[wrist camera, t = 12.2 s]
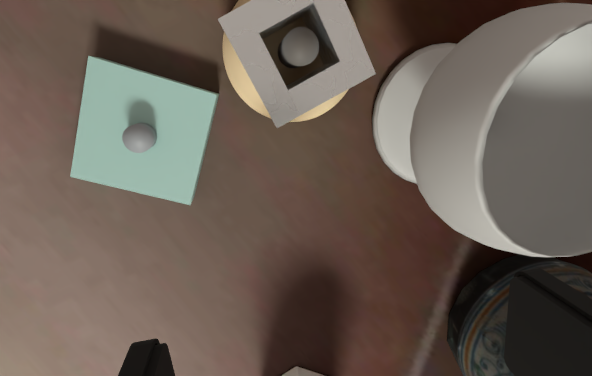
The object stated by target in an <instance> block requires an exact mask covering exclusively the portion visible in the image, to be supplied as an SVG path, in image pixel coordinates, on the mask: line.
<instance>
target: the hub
mask: <svg viewBox="0 0 592 376" xmlns="http://www.w3.org/2000/svg"><path fill="white" fill-rule="evenodd" d="M249 1H251V0H238V2H237V3H236V5H235V6H234V8H233V9H232V11H233V10H235V9H236V8H238V7H240V6H242V5H244V4H245V3H247V2H249ZM349 11H350V10H349ZM350 14H351V12H350ZM351 16H352V14H351ZM352 19H353V21H354V18H353V16H352ZM354 23H355V21H354ZM355 26H356V24H355ZM356 28H357V27H356ZM262 40H263V42H264V44H265V46H266V48H267V50H268V52H269V54H270V56H271V58H272V60H273V62H274V64H275V66H276V68H277V70H278V72H279V73H280V75H281V77H282V79H283V81H284V83H285V85H286V86H287V85H288V84H290V83H292V82H294V81H296V80H298V79H299V78H301V77H303V76H305V75H307V74H308V73H310V72H312V71H314V70H316V69H317V68H319V67H321V66H323V65H324V64H323V62H322V60H321V58H320V56H319V53H318V51H319V42H318V39H317V37H316V35H315V34H314V32H313V31H311V30H310V29H308V28H306V26H305V23H304V21H303V19H302V17H301V18H299V19H298V20H296V21H294V22H292V23H291V24H289V25H287V26H285V27H283V28H282V29H280V30H278V31H276V32H274V33H273V34H271V35H269V36H267V37H266V38H264V39H262ZM223 59H224V64H225V68H226V71H227V74H228V77H229V79H230V81H231V83H232V86H233V87H234V89H235V90H236V92H237V93H238V95H239V96H240V97H241V98H242V99H243V101H245V102H246V103H247V104H248V105H249V106H250V107H251V108H253V109H254V110H255V111H257V112H258V113H260V114H262V115H264V116H266V117H269V118H271V117H270V115H269V113H268V111H267V109H266V107H265V106H264V104H263V102H262V100H261V98H260V96H259V95H258V93H257V91H256V89H255V87H254V85H253V84H252V82H251V80H250V78H249V76H248V74H247V72H246V71H245V69H244V67H243V65H242V63H241V61H240V60H239V58H238V56H237V54H236V52H235V50H234V49H233V47H232V45H231V43H230V41H229V39H228V37H227V36H226V34H225V32H224V36H223ZM347 91H348V89H347V90H346V91H344V92H342V93H340V94H338V95H337V96H335V97H333V98H331V99H329V100H327V101H326V102H324V103H322V104H320V105H318V106H317V107H315V108H313V109H311V110H309V111H308V112H306V113H304V114H302V115H300V116H298V117H297V118H295V119H293V120H291V121H289V122H299V121H305V120H309V119H312V118H315V117H317V116H320V115H322V114H324V113H325V112H327V111H328V110H330V109H331V108H332V107H334V106H335V105H336V104H337V103H338V102H339V101H340V100H341V99H342V98H343V96H344V95H345V94H346V92H347Z"/></svg>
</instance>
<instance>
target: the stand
mask: <svg viewBox="0 0 592 376" xmlns="http://www.w3.org/2000/svg"><path fill="white" fill-rule="evenodd" d="M218 97H219V94H218V93H215V92H212V91H208V90H205V89H202V88H199V87H195V86H192V85H189V84H185V83H182V82H179V81H175V80H172V79H169V78H166V77H162V76H159V75H156V74H152V73H149V72H146V71H142V70H139V69H136V68H133V67H129V66H126V65H123V64H119V63H116V62H113V61H110V60H106V59H103V58H99V57H93V56H88V62H87V69H86V76H85V82H84V89H83V96H82V102H81V109H80V116H79V122H78V129H77V136H76V142H75V149H74V156H73V162H72V169H71V176H70V177H74V178H78V179H82V180H86V181H91V182H95V183H99V184H103V185H107V186H112V187H116V188H120V189H124V190H129V191H133V192H137V193H141V194H145V195H150V196H154V197H158V198H162V199H166V200H171V201H175V202H179V203H183V204H188V205H191V203H192V201H193V198H194V195H195V191H196V187H197V183H198V179H199V175H200V171H201V166H202V162H203V158H204V154H205V150H206V146H207V142H208V138H209V134H210V129H211V125H212V121H213V117H214V113H215V109H216V105H217V101H218Z"/></svg>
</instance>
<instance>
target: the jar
mask: <svg viewBox="0 0 592 376" xmlns="http://www.w3.org/2000/svg"><path fill="white" fill-rule="evenodd" d="M281 376H325V375H322V374H319V373H316V372H313V371H310V370H307V369H304V368H301V367H297V366H296V367H294V368H293V369H291V370H289V371H288V372H286V373H284V374H283V375H281Z"/></svg>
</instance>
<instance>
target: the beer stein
mask: <svg viewBox="0 0 592 376" xmlns="http://www.w3.org/2000/svg"><path fill="white" fill-rule="evenodd" d="M533 268H540V269H543V270H544V271H546V272H548V273H549V274H551V275H553V276H554V277H556V278H558V279H559V280H561V281H563V282H564V283H566V284H568V285H569V286H571V287H573V288H574V289H576V290H578V291H579V292H581V293H583V294H584V295H586V296H588V297H589V298H591V299H592V273H590V272H589V271H587V270H586V269H584V268H582V267H580V266H577V265H574V264H571V263H568V262H564V261H561V260H558V259H555V258H552V257H532V256H527V255H522V254H519V255H516V256H512V257H509V258H505V259H503V260H501V261H499V262H497V263H496V264H494V265H492V266H490V267H488V268H486V269H484V270H483V271H481V272H480V273H478V274H477V275H476V276H475V277H474V278H473V279H472V280H471V281H470V282H469V283H468V284H467V285H466V286H465V287H464V288H463V289H462V290H461V292H460V294H459V296H458V298H457V300H456V302H455V304H454V306H453V308H452V309H451V311H450V313H449V322H448V335H447V341H448V344H449V346H450V348H451V350H452V352H453V354H454V357H455V359H456V361H457V363H458V365H459V367H460V369H461V372H462V374H463V376H515V375H514V374H513V373H512V372H511V371H510V370H509V369H508V367H507V365H506V363H505V360H504V349H505V336H506V324H507V312H508V299H509V287H510V280H511V279H512V278H514V275H515V273H516V272H518V271H523V270H528V269H533Z"/></svg>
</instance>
